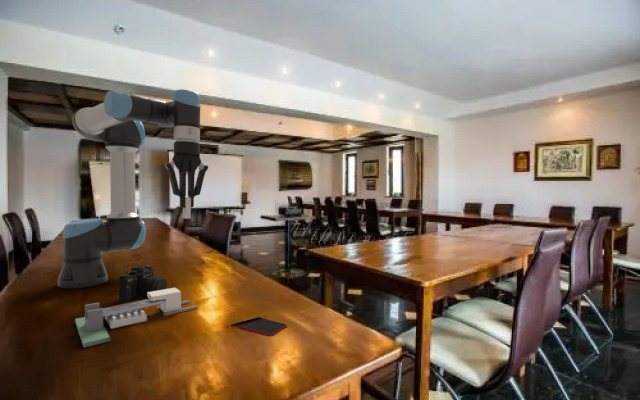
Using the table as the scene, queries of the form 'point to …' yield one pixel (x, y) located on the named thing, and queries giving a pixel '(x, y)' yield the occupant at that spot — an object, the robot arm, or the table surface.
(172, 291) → the white stepped block
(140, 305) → the grey board dark edge
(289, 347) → the table surface
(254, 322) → the smartphone
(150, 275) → the camera
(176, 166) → the robot arm
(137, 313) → the heatsink board
